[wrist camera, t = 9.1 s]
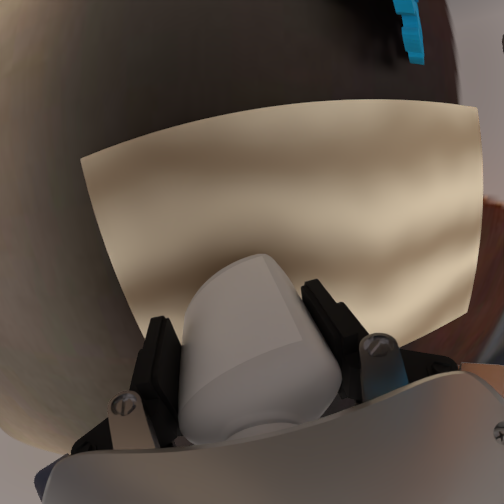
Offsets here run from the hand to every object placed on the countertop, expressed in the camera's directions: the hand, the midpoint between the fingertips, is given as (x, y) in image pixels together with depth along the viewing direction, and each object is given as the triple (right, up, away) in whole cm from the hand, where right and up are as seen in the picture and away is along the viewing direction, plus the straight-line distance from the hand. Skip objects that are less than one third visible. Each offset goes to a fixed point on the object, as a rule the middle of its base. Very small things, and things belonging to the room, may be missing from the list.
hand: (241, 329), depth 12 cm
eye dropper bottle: (0, +1, +3) cm, 3 cm away
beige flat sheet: (+6, +3, +5) cm, 8 cm away
